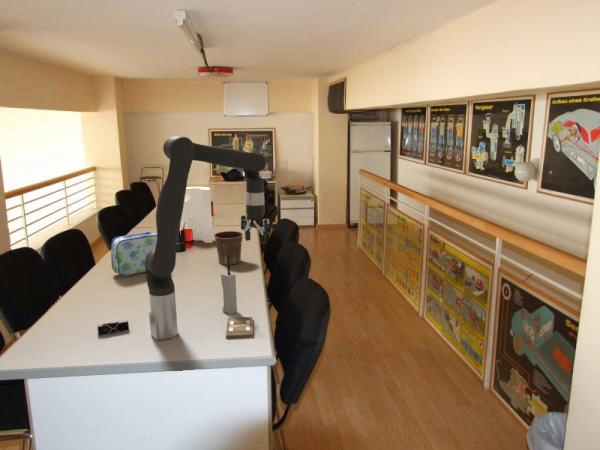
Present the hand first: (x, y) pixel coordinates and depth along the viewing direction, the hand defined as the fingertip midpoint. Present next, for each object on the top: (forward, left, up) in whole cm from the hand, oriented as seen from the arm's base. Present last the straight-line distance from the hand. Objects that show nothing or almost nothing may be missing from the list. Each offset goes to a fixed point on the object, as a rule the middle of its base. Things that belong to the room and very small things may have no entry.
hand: (255, 242), depth 202 cm
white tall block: (+33, +126, -31) cm, 133 cm away
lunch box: (-21, +86, -31) cm, 93 cm away
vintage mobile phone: (-10, +7, -31) cm, 33 cm away
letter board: (-15, -10, -30) cm, 35 cm away
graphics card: (-55, +18, -31) cm, 65 cm away
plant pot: (+25, +70, -31) cm, 80 cm away
